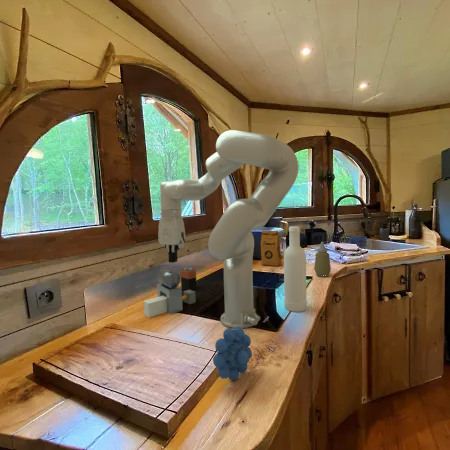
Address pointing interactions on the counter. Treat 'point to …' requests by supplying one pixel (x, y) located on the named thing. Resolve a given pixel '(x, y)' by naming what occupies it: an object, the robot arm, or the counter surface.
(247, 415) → the counter surface
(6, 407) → the counter surface
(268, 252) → the coffee package
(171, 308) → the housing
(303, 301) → the bottle
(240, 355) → the grapes
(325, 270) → the squeeze bottle
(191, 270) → the battery
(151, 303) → the white mallet
